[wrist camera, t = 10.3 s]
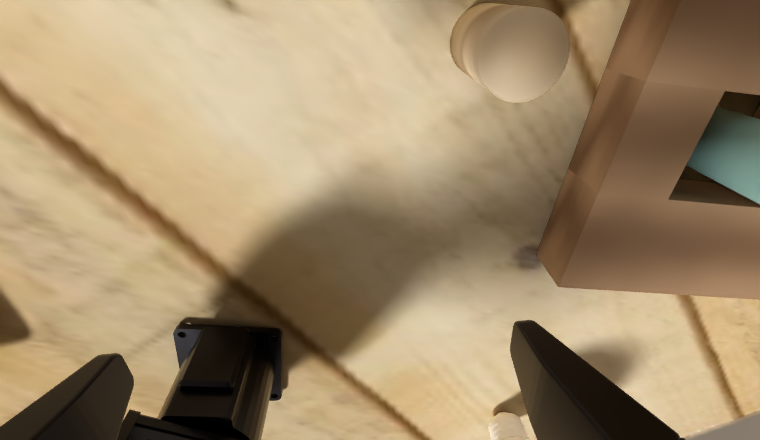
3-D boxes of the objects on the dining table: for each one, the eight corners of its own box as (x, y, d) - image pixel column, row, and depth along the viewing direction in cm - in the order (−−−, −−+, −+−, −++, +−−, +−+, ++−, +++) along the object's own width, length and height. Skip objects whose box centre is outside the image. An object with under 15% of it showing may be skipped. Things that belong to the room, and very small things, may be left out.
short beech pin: (506, 79, 19) (552, 106, 14) (443, 72, 18) (471, 97, 14) (525, 7, 17) (583, 13, 13) (457, -2, 17) (493, 0, 13)
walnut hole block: (719, 267, 25) (761, 299, 22) (536, 254, 24) (558, 286, 21) (916, -34, 17) (1015, -38, 15) (659, -77, 16) (718, -90, 13)
